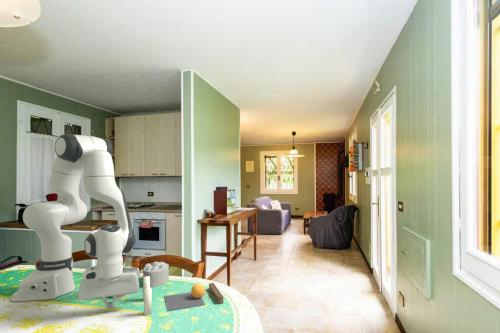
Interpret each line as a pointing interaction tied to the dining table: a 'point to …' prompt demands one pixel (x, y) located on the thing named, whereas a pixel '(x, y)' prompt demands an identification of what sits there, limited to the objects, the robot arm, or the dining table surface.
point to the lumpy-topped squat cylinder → (157, 273)
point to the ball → (197, 290)
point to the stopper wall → (216, 293)
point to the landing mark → (182, 301)
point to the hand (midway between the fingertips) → (109, 307)
